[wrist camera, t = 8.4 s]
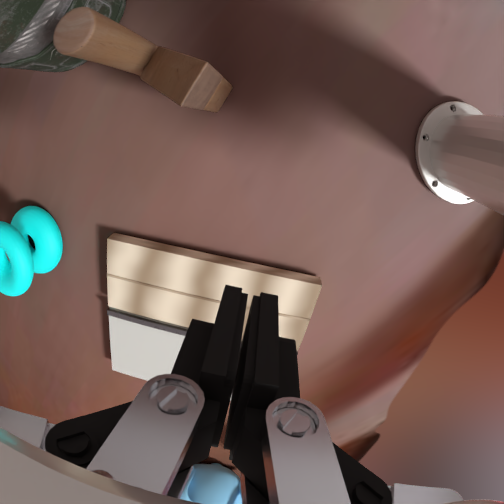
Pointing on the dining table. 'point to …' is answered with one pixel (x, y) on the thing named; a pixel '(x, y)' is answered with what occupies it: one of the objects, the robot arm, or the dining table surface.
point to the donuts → (27, 248)
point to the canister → (42, 31)
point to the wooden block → (141, 59)
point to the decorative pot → (212, 485)
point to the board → (143, 344)
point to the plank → (200, 284)
